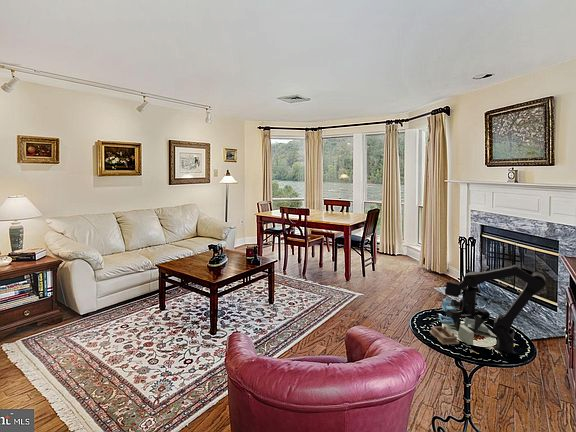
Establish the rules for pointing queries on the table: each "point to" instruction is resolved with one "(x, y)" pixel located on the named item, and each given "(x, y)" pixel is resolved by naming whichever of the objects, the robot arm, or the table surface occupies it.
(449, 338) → the brown rectangular tray
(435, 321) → the table surface
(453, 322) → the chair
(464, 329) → the pale rectangular block
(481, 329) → the metal bracket
